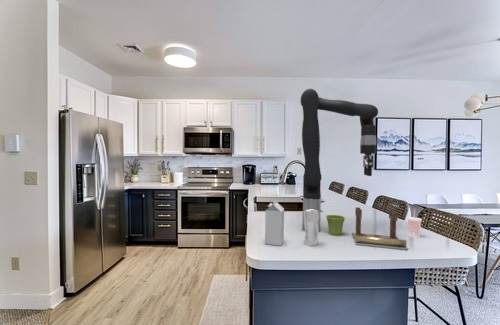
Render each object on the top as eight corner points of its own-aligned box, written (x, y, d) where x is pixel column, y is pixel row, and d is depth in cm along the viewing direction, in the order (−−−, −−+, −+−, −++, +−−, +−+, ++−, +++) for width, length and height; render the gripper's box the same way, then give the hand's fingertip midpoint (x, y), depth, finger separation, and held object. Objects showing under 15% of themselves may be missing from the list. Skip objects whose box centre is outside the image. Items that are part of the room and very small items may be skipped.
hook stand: (353, 239, 114) (353, 209, 114) (351, 234, 121) (352, 206, 120) (401, 243, 108) (401, 212, 108) (396, 239, 115) (397, 209, 115)
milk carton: (283, 241, 110) (284, 200, 110) (280, 246, 103) (281, 202, 103) (268, 239, 112) (269, 199, 112) (264, 244, 105) (265, 201, 105)
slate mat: (355, 245, 106) (355, 243, 106) (354, 240, 111) (354, 239, 111) (407, 250, 100) (407, 249, 100) (402, 245, 106) (402, 244, 106)
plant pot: (321, 231, 125) (322, 215, 125) (336, 230, 128) (336, 214, 128) (333, 237, 116) (334, 219, 116) (349, 235, 120) (349, 218, 120)
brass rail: (355, 242, 107) (355, 236, 107) (354, 240, 110) (354, 234, 110) (406, 248, 101) (406, 241, 101) (404, 245, 104) (404, 239, 104)
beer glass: (310, 247, 102) (311, 212, 102) (300, 242, 108) (300, 209, 108) (322, 245, 105) (323, 211, 105) (311, 240, 111) (312, 208, 111)
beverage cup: (415, 238, 116) (415, 209, 116) (403, 234, 122) (404, 207, 122) (424, 237, 118) (425, 209, 118) (413, 233, 124) (413, 207, 124)
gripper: (358, 145, 132) (358, 174, 132) (362, 143, 118) (362, 176, 119) (373, 145, 130) (372, 175, 130) (379, 143, 116) (378, 176, 116)
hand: (367, 175), depth 124 cm, fingers open, 8 cm apart
